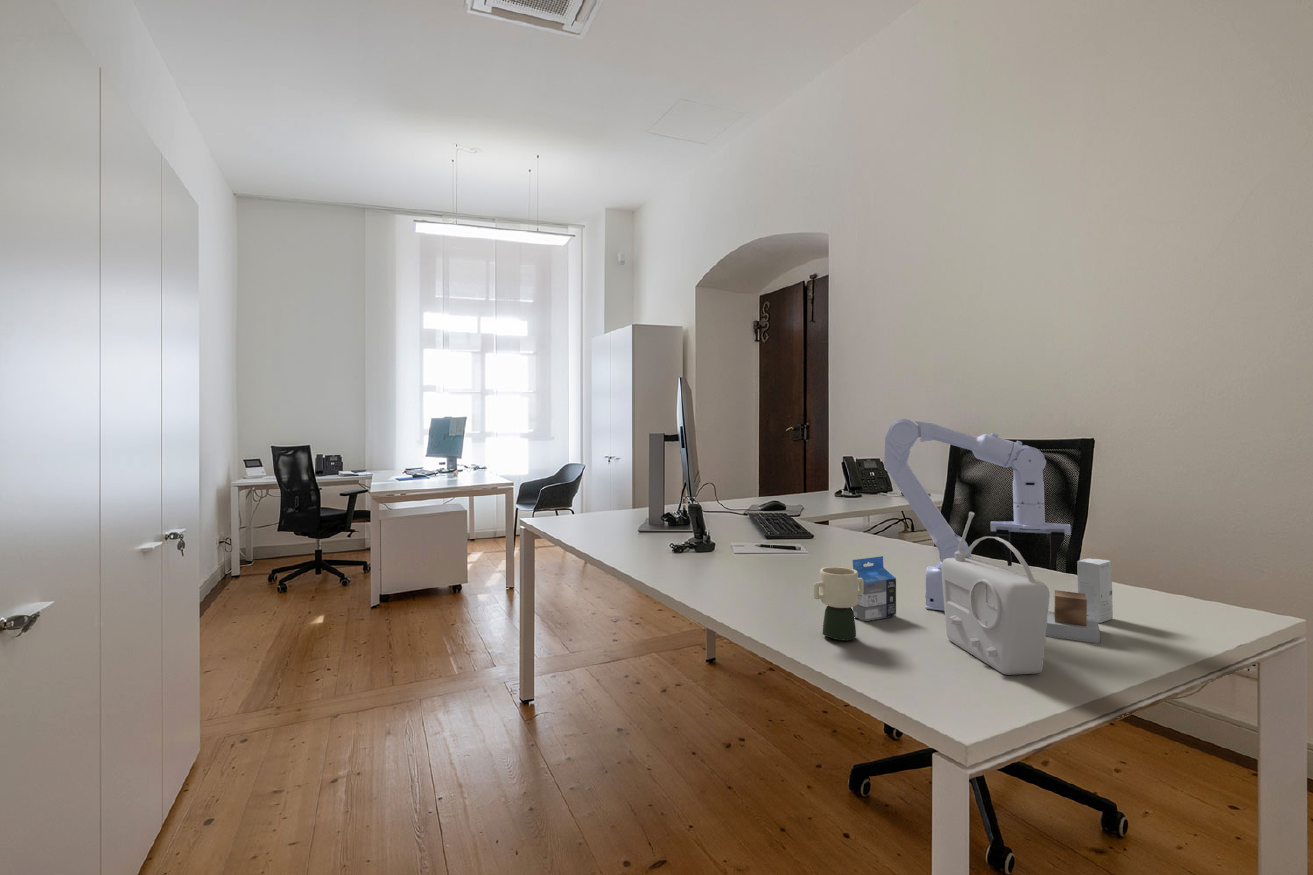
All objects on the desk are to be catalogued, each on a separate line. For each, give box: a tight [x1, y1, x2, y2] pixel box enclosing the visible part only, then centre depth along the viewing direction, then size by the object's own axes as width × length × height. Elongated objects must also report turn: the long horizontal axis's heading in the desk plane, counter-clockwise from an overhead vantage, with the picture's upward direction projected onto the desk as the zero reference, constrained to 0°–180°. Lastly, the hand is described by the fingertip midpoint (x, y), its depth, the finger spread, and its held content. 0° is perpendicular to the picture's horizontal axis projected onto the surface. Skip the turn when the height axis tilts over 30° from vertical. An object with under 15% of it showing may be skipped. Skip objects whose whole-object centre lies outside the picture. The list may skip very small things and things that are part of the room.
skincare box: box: [1076, 557, 1114, 624], centre depth 130 cm, size 6×4×12 cm
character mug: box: [813, 566, 864, 641], centre depth 119 cm, size 11×7×13 cm, turn 108°
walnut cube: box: [1053, 589, 1087, 626], centre depth 121 cm, size 5×5×5 cm
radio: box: [941, 511, 1051, 676], centre depth 109 cm, size 22×8×25 cm, turn 4°
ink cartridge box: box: [852, 555, 897, 622], centre depth 132 cm, size 9×4×12 cm, turn 115°
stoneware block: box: [1046, 610, 1101, 644], centre depth 121 cm, size 9×9×3 cm
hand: (1030, 566), depth 132 cm, fingers open, 7 cm apart
